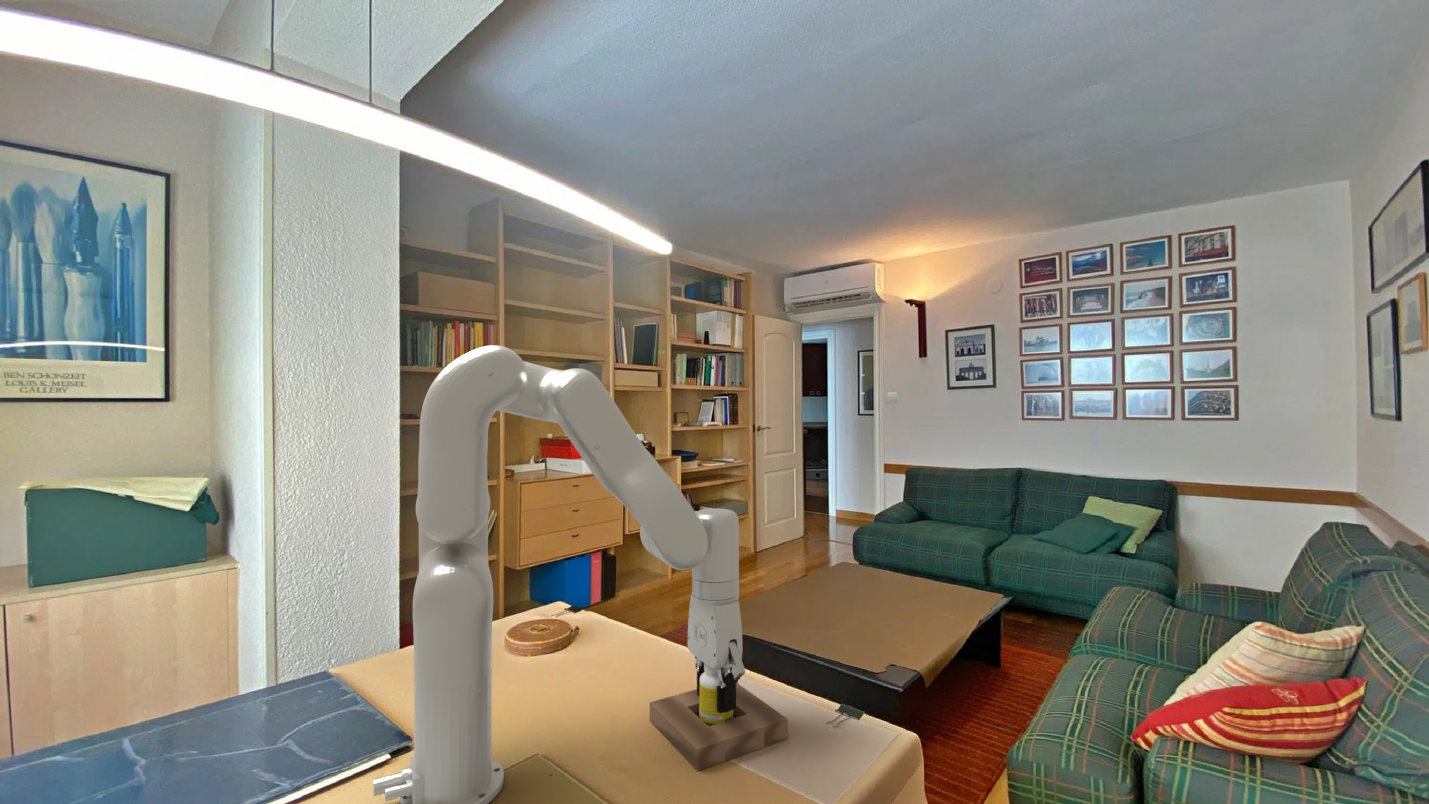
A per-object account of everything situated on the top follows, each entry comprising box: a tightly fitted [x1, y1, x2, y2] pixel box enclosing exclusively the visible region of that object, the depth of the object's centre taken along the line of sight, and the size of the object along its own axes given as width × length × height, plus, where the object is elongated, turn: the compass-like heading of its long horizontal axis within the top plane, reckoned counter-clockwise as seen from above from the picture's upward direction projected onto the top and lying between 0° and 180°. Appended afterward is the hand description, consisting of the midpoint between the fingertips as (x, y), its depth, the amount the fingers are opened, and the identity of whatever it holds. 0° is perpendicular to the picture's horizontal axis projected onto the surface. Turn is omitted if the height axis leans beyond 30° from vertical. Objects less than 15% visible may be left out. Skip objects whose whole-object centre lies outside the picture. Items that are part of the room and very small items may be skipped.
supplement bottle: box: [699, 660, 733, 726], centre depth 94 cm, size 5×5×10 cm
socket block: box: [649, 683, 789, 772], centre depth 94 cm, size 16×16×3 cm
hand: (716, 700), depth 94 cm, fingers closed on supplement bottle, 5 cm apart
